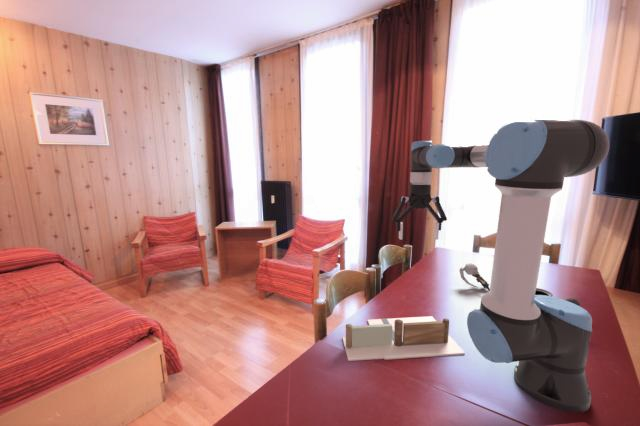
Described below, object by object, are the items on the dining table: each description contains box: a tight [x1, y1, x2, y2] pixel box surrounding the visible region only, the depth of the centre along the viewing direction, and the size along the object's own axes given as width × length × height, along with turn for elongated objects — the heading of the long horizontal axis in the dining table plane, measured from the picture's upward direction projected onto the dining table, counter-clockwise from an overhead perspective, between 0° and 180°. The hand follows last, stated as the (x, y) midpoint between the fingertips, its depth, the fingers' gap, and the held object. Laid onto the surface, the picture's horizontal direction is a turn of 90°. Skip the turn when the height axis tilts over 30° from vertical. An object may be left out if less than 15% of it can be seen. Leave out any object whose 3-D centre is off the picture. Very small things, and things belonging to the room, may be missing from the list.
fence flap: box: [345, 323, 392, 348], centre depth 89 cm, size 14×2×7 cm, turn 95°
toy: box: [459, 263, 490, 292], centre depth 129 cm, size 11×8×15 cm
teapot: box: [535, 287, 581, 307], centre depth 106 cm, size 19×15×10 cm
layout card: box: [341, 315, 466, 362], centre depth 95 cm, size 21×34×1 cm, turn 95°
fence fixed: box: [394, 318, 450, 347], centre depth 91 cm, size 2×17×8 cm, turn 95°
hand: (418, 238), depth 113 cm, fingers open, 13 cm apart
